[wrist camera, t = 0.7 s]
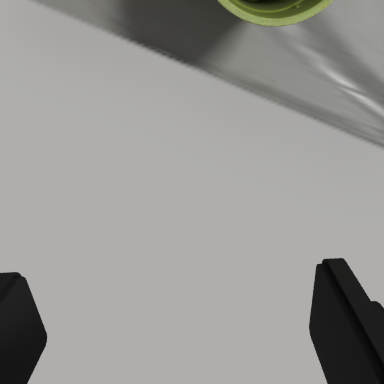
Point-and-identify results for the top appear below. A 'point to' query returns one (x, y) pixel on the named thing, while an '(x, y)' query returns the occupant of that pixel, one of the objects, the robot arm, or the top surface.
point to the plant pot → (274, 10)
